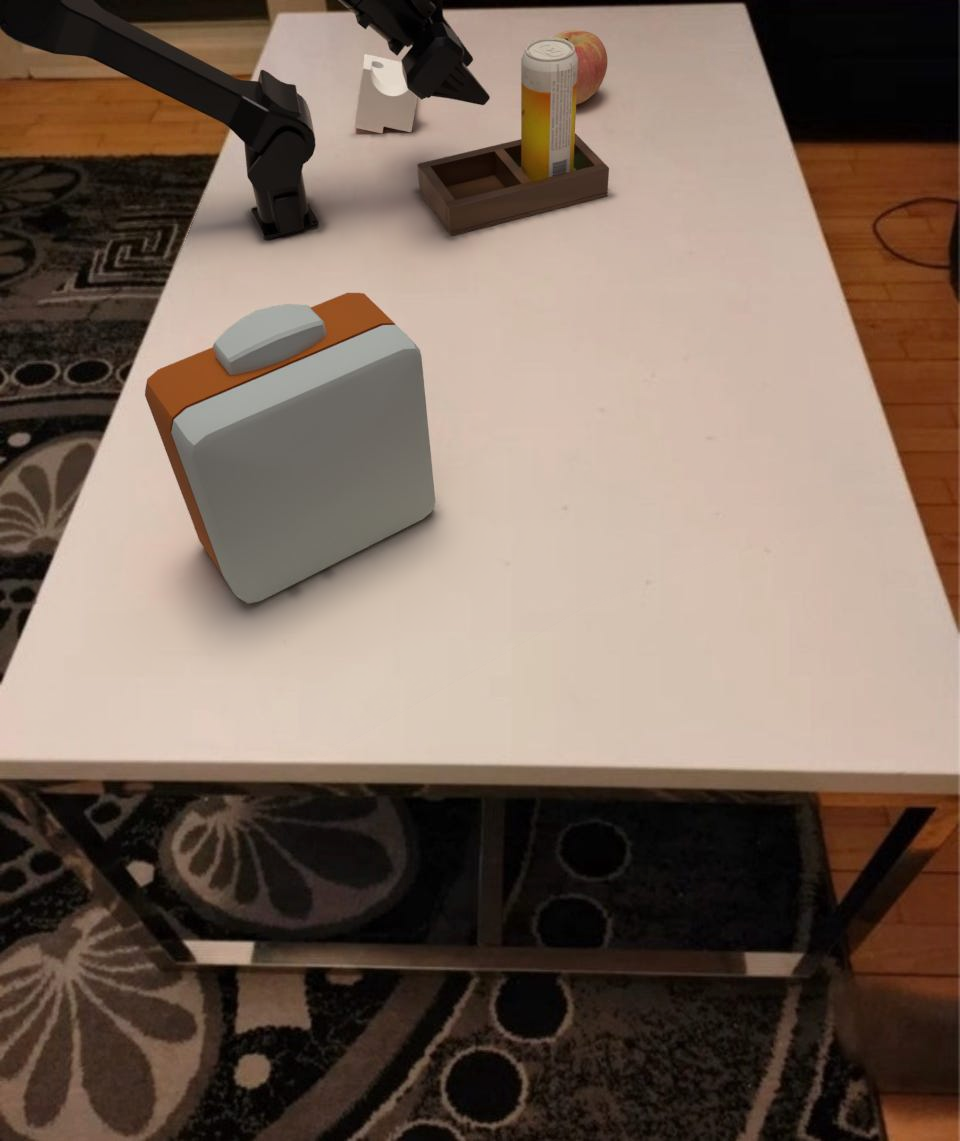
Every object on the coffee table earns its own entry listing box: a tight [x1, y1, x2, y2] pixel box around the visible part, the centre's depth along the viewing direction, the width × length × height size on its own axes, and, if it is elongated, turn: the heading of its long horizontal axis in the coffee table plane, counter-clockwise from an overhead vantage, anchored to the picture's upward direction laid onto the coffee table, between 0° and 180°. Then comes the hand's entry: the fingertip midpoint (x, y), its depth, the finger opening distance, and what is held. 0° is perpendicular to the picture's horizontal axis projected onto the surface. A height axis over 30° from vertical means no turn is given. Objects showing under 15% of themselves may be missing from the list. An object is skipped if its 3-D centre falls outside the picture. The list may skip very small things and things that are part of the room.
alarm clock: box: [144, 292, 436, 604], centre depth 78 cm, size 18×9×21 cm, turn 124°
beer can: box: [520, 37, 578, 182], centre depth 113 cm, size 6×6×15 cm
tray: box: [416, 132, 610, 236], centre depth 117 cm, size 10×20×4 cm, turn 112°
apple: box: [551, 29, 608, 106], centre depth 130 cm, size 9×9×8 cm
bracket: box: [354, 53, 419, 134], centre depth 130 cm, size 13×7×8 cm, turn 1°
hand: (478, 81), depth 109 cm, fingers open, 9 cm apart
